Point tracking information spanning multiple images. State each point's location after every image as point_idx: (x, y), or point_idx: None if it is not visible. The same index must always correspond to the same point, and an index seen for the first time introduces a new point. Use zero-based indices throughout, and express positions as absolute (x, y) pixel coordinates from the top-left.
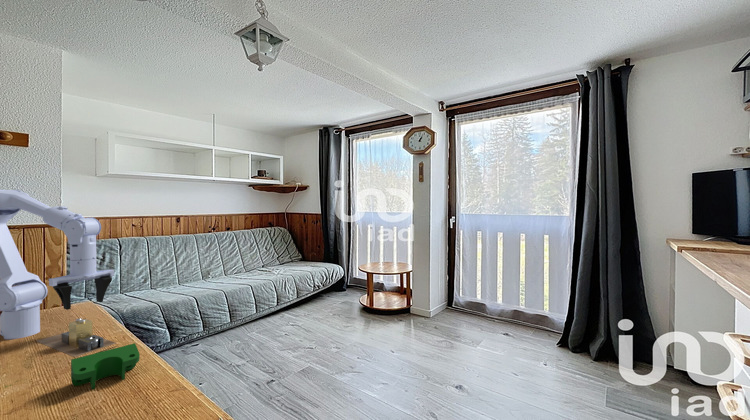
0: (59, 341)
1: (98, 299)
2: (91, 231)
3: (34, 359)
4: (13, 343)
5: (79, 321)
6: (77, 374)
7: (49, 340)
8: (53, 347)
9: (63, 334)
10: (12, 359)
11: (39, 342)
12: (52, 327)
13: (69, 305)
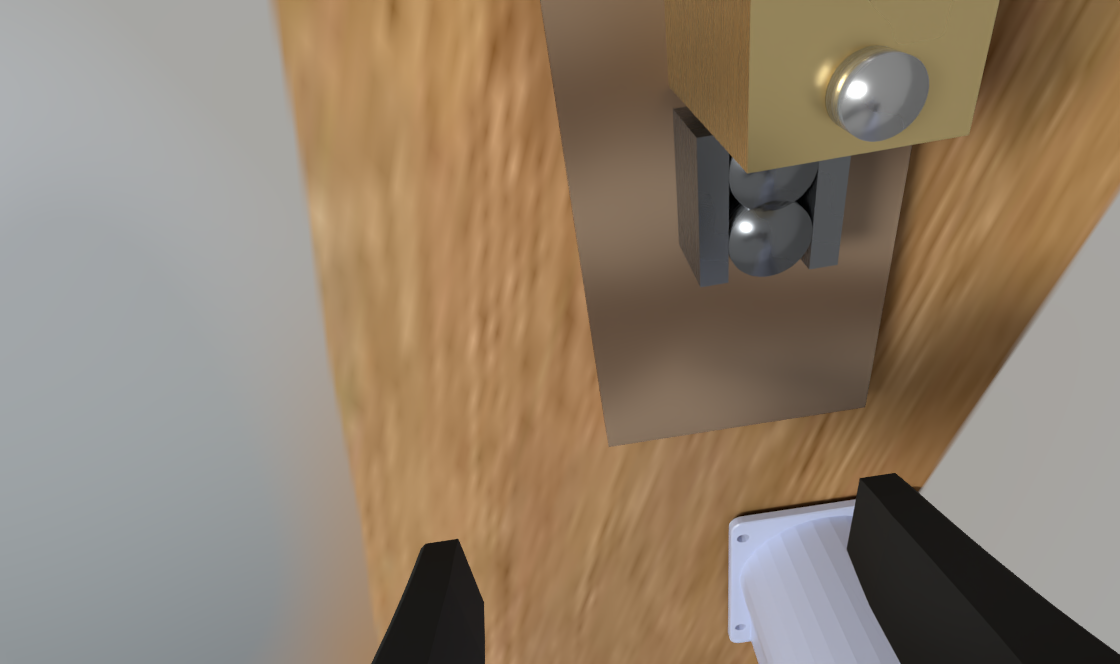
0: None
1: (468, 609)
2: None
3: (1065, 8)
4: None
5: (881, 42)
6: None
7: (819, 343)
8: None
9: (842, 217)
10: (1093, 182)
11: (872, 352)
12: (655, 609)
13: (919, 518)
